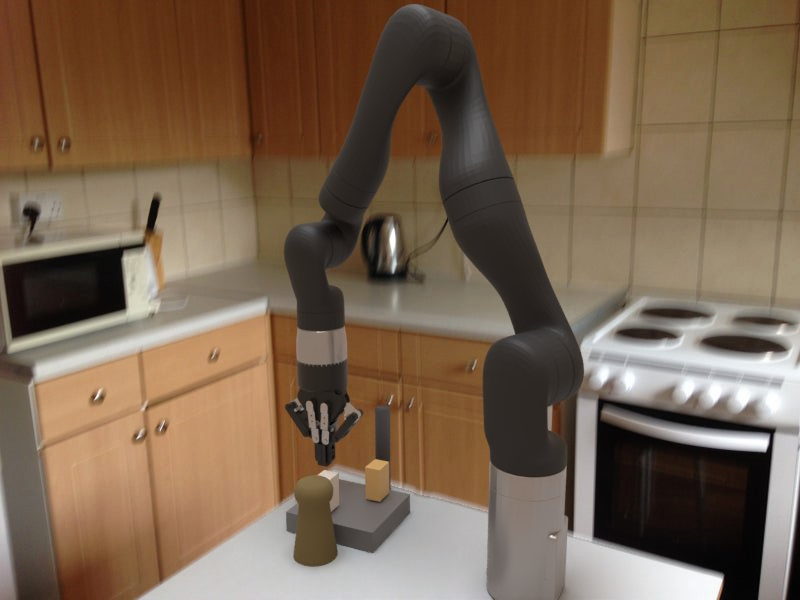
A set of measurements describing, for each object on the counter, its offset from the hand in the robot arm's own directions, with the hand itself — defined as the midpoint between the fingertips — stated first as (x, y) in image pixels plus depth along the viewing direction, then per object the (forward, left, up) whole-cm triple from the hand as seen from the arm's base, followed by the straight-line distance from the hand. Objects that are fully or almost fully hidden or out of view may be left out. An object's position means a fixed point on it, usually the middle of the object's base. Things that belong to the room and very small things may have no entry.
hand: (325, 464), depth 112 cm
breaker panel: (-6, +3, -7) cm, 9 cm away
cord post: (-6, -8, -7) cm, 12 cm away
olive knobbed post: (-6, +13, -7) cm, 16 cm away
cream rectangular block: (-4, +6, -4) cm, 8 cm away
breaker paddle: (-9, 0, -3) cm, 10 cm away
